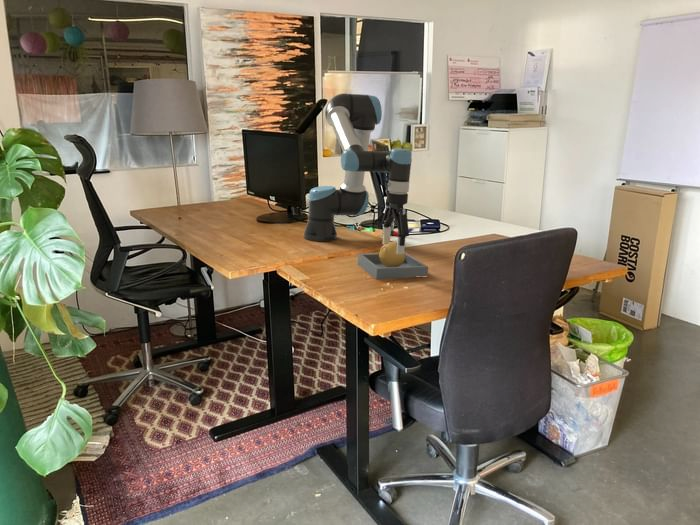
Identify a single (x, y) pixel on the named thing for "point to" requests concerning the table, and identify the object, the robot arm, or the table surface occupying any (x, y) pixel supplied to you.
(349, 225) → the table surface
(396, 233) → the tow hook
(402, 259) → the stress ball
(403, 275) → the tray
